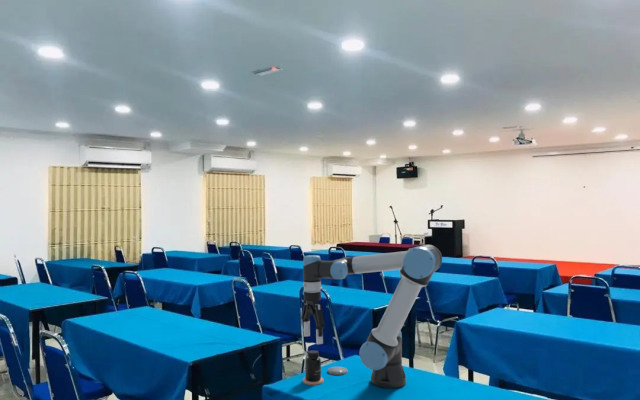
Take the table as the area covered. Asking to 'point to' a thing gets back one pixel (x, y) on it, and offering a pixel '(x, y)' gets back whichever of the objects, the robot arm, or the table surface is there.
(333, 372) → the slate coaster
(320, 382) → the terracotta coaster
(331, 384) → the table surface
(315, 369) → the supplement bottle
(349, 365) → the table surface
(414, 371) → the table surface
